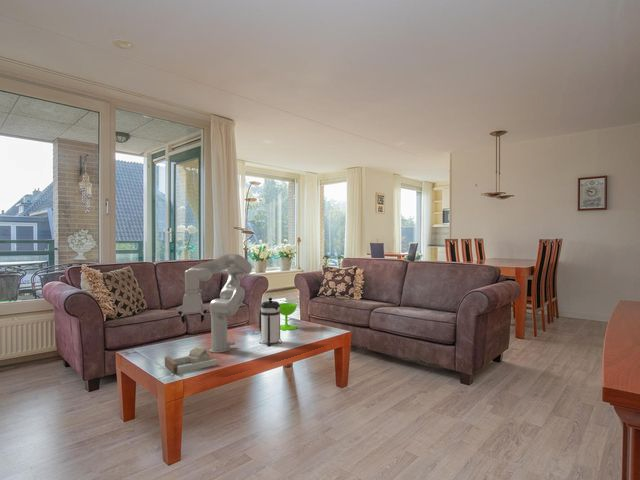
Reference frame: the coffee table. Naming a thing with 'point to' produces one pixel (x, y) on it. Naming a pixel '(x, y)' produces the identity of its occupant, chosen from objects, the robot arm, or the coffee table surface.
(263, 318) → the coffee press
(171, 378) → the coffee table surface
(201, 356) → the fossil replica
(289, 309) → the wineglass
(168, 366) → the channel
